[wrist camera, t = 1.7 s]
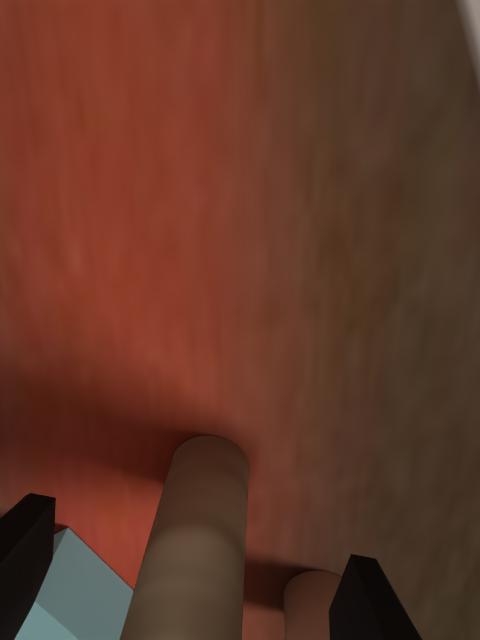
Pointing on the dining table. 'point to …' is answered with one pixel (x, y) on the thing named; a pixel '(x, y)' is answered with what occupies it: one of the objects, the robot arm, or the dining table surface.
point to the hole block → (77, 596)
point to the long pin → (195, 549)
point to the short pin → (309, 605)
